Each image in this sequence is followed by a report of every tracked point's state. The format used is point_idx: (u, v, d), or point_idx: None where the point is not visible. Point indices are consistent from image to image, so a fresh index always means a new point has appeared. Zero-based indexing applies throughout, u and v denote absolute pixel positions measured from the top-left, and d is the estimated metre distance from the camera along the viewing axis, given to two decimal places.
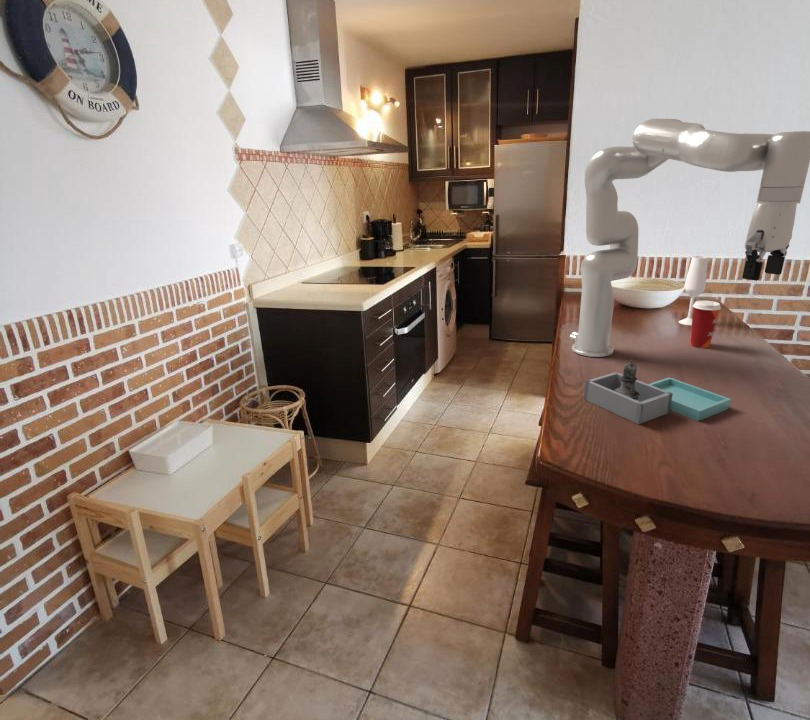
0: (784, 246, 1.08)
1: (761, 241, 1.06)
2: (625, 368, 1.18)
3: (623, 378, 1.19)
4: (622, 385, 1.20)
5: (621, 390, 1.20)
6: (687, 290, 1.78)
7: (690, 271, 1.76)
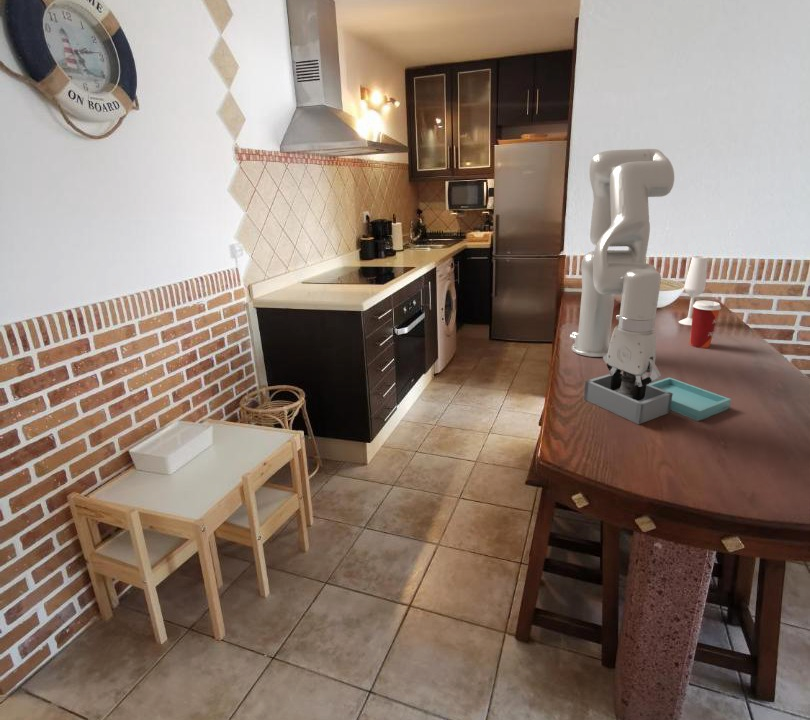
0: None
1: None
2: None
3: (623, 378, 1.19)
4: (622, 385, 1.20)
5: (621, 390, 1.20)
6: (687, 290, 1.78)
7: (690, 271, 1.76)
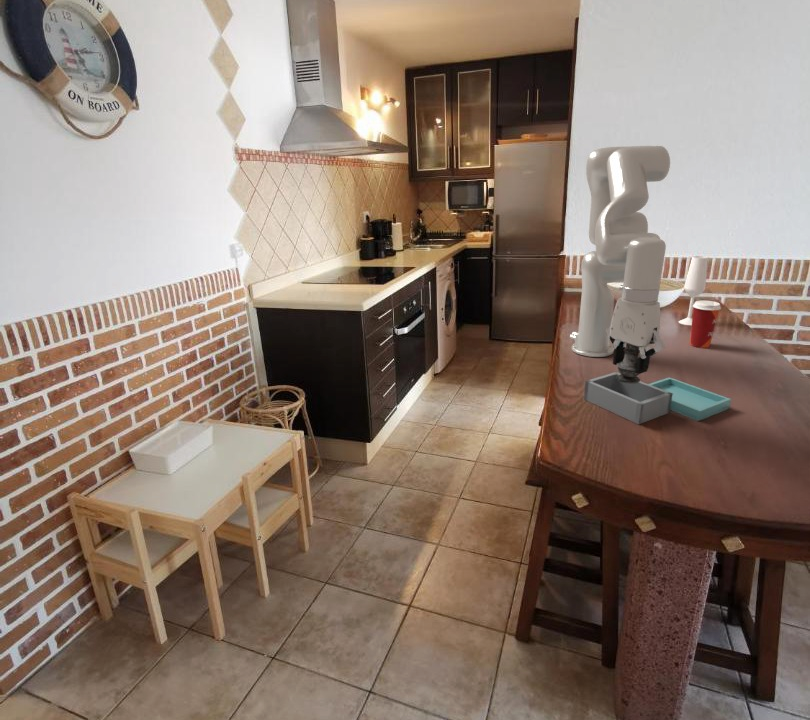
0: None
1: None
2: None
3: (626, 350, 1.17)
4: (625, 358, 1.18)
5: (624, 363, 1.18)
6: (687, 290, 1.78)
7: (690, 271, 1.76)
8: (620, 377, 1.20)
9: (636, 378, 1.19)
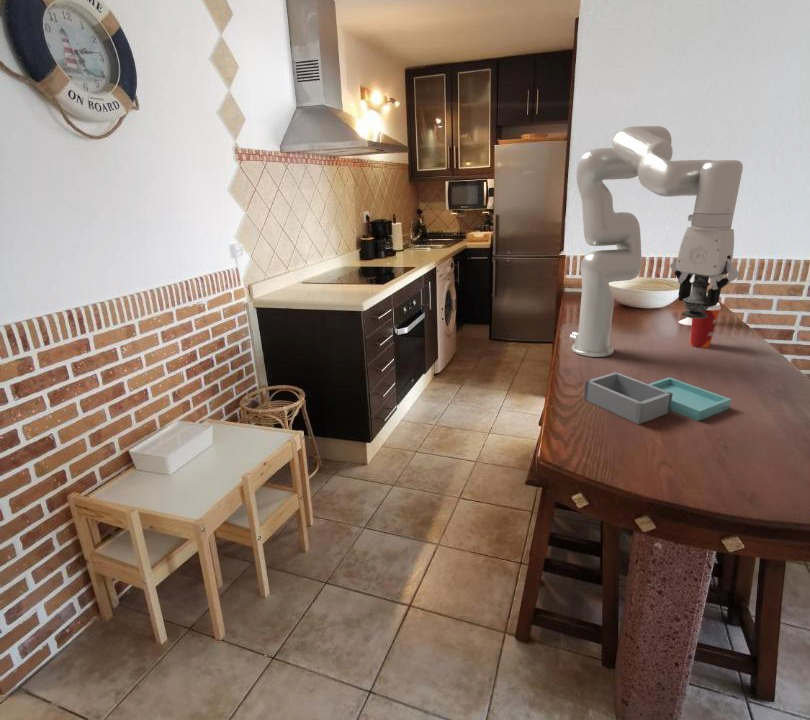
0: None
1: None
2: None
3: (695, 283, 1.12)
4: (693, 291, 1.13)
5: (692, 297, 1.13)
6: None
7: None
8: (686, 313, 1.15)
9: (704, 313, 1.14)
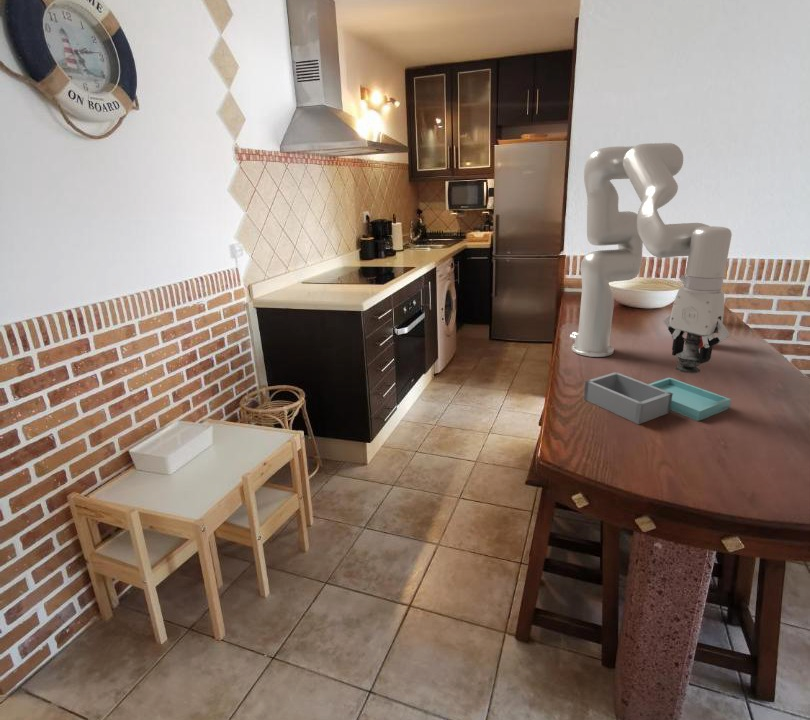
0: None
1: None
2: None
3: (687, 340, 1.16)
4: (686, 348, 1.17)
5: (685, 353, 1.17)
6: None
7: None
8: (680, 367, 1.19)
9: (696, 368, 1.18)
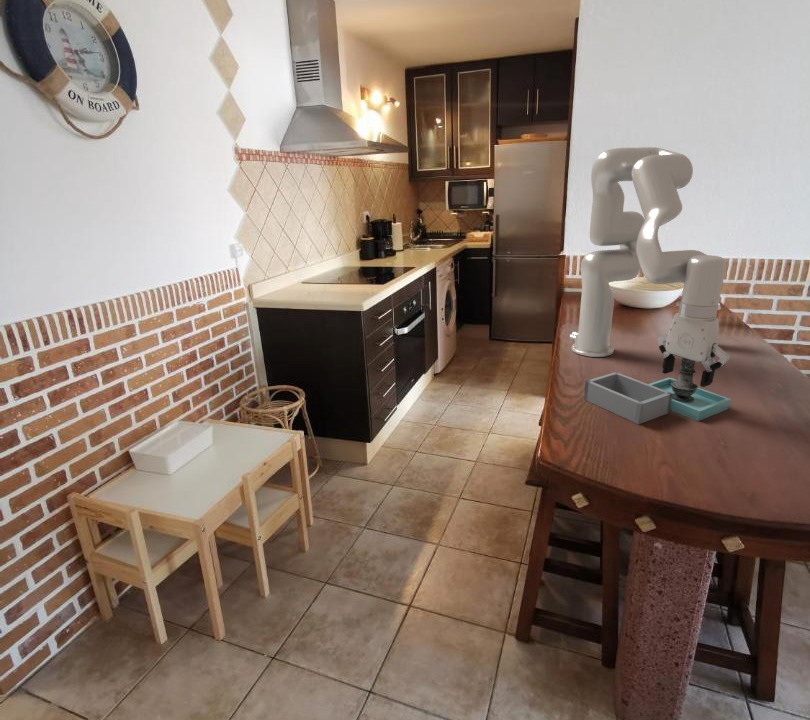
0: None
1: None
2: (684, 360, 1.18)
3: (681, 370, 1.19)
4: (680, 377, 1.20)
5: (679, 382, 1.20)
6: None
7: None
8: (674, 396, 1.22)
9: (690, 397, 1.21)
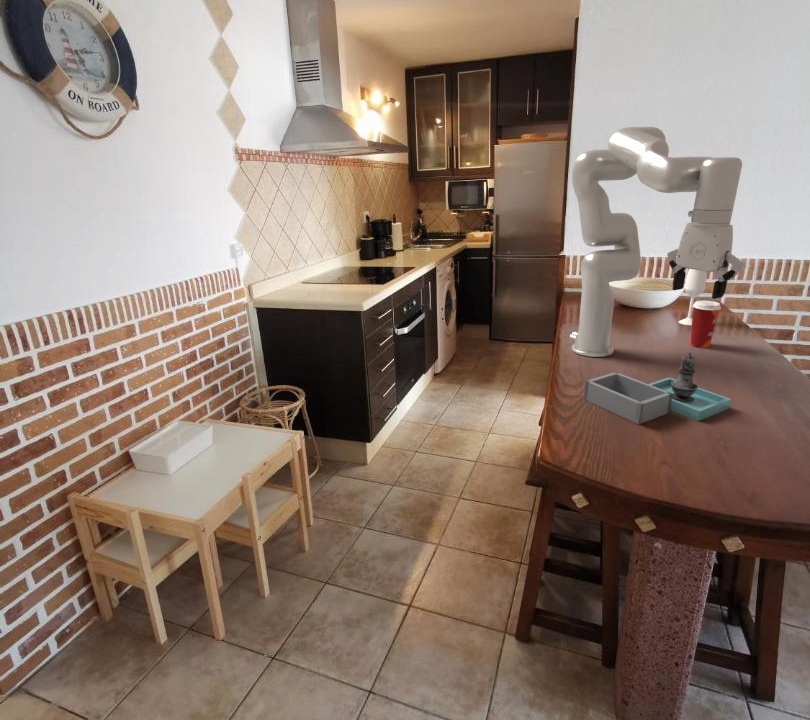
0: None
1: None
2: (684, 360, 1.19)
3: (681, 370, 1.19)
4: (680, 377, 1.20)
5: (679, 382, 1.20)
6: (687, 290, 1.78)
7: (690, 271, 1.76)
8: (674, 396, 1.22)
9: (690, 397, 1.21)
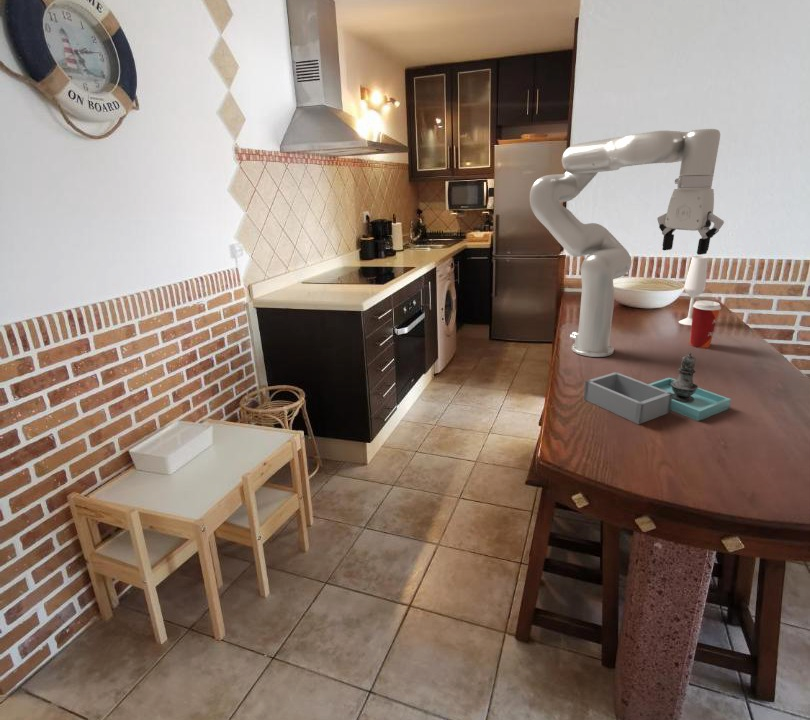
0: None
1: None
2: (684, 360, 1.19)
3: (681, 370, 1.19)
4: (680, 377, 1.20)
5: (679, 382, 1.20)
6: (687, 290, 1.78)
7: (690, 271, 1.76)
8: (674, 396, 1.22)
9: (690, 397, 1.21)
